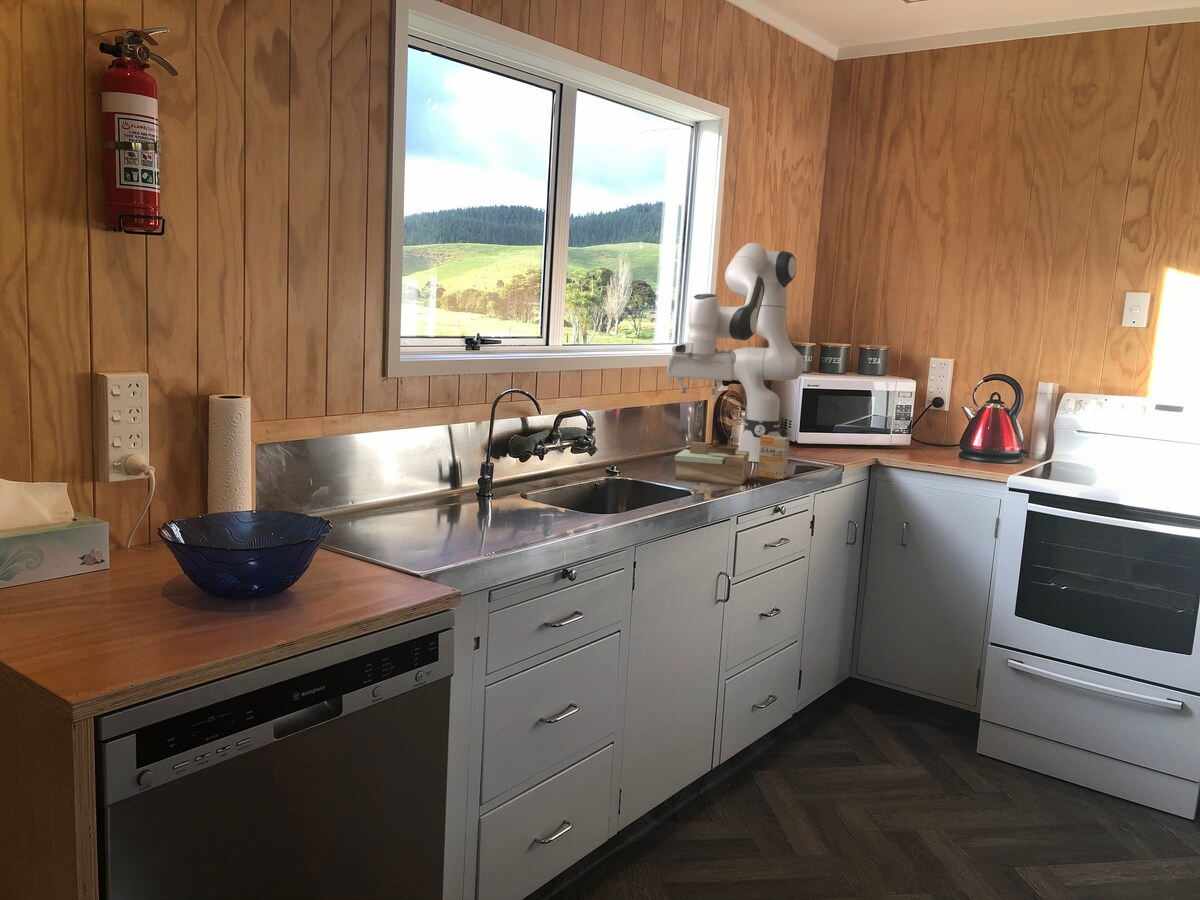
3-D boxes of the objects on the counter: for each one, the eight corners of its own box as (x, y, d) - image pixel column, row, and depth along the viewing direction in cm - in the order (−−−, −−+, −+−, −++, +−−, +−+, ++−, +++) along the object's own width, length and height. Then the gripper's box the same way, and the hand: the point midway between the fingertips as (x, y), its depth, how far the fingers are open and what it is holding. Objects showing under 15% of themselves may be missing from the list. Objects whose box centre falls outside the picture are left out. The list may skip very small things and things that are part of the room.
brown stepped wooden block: (709, 451, 292) (709, 439, 292) (735, 453, 290) (736, 441, 289) (707, 452, 290) (708, 440, 289) (734, 454, 288) (735, 442, 287)
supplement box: (757, 477, 301) (759, 435, 299) (761, 475, 305) (764, 434, 303) (782, 480, 297) (785, 438, 295) (787, 478, 301) (789, 436, 299)
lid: (683, 454, 303) (684, 439, 302) (729, 457, 299) (730, 442, 298) (674, 460, 290) (675, 445, 289) (722, 464, 286) (723, 448, 285)
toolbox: (684, 472, 304) (685, 446, 302) (747, 478, 298) (749, 451, 297) (675, 480, 290) (676, 452, 289) (741, 485, 285) (742, 457, 284)
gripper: (737, 349, 289) (734, 395, 290) (671, 346, 294) (668, 391, 296) (734, 350, 283) (731, 396, 284) (666, 346, 288) (664, 392, 290)
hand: (699, 394), depth 290 cm, fingers open, 8 cm apart
